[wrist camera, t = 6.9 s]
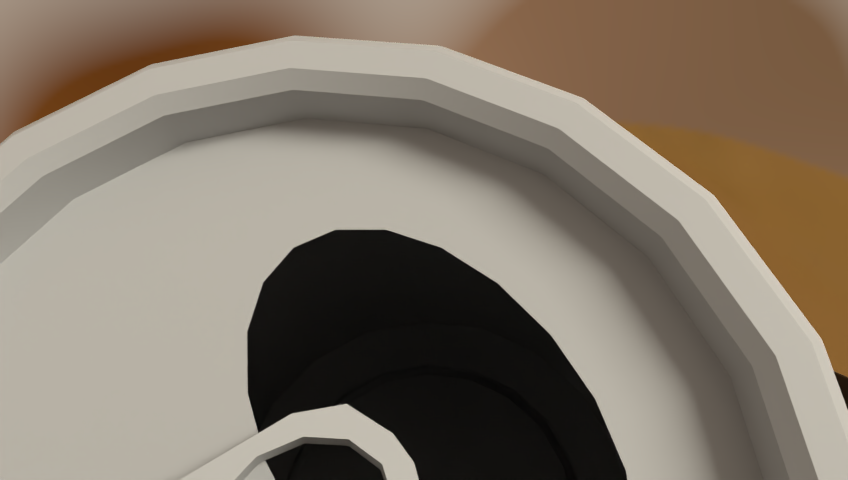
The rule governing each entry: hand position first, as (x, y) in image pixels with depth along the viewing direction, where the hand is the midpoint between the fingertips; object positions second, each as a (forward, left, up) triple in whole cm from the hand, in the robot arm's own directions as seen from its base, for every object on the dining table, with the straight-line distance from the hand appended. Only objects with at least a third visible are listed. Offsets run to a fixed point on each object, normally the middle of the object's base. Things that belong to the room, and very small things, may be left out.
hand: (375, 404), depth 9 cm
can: (-1, 0, -7) cm, 7 cm away
